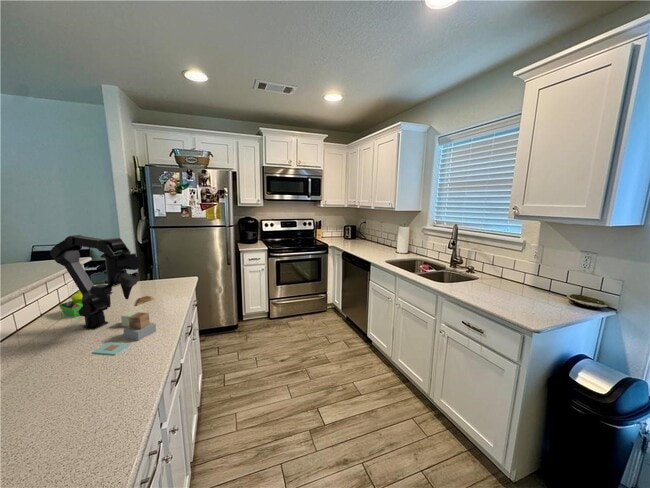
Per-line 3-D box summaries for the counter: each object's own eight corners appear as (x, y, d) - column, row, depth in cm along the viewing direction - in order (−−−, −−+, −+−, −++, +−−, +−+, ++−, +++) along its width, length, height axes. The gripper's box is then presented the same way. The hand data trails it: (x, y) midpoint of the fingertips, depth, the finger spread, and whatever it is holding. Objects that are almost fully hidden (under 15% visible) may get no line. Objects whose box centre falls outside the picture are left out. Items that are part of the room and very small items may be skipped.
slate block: (124, 337, 111) (123, 328, 110) (142, 329, 118) (141, 320, 118) (138, 341, 108) (137, 332, 108) (156, 332, 116) (155, 323, 115)
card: (92, 353, 99) (92, 351, 99) (109, 343, 106) (109, 341, 105) (115, 355, 98) (114, 353, 98) (130, 345, 105) (130, 343, 105)
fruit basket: (58, 314, 129) (55, 292, 127) (81, 308, 137) (78, 287, 135) (72, 319, 125) (69, 296, 123) (94, 312, 133) (92, 290, 131)
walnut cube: (129, 328, 110) (128, 317, 110) (138, 323, 115) (137, 312, 114) (141, 329, 110) (140, 317, 109) (149, 323, 115) (148, 312, 114)
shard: (136, 306, 142) (136, 303, 142) (126, 304, 144) (126, 301, 144) (155, 300, 152) (155, 297, 152) (145, 298, 154) (145, 295, 154)
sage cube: (122, 326, 120) (121, 315, 119) (131, 321, 125) (130, 311, 124) (132, 326, 119) (131, 316, 119) (141, 322, 124) (140, 311, 124)
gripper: (113, 275, 103) (117, 313, 106) (148, 264, 121) (151, 296, 124) (86, 273, 104) (91, 311, 106) (126, 262, 122) (128, 295, 125)
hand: (118, 302), depth 115 cm, fingers open, 9 cm apart
